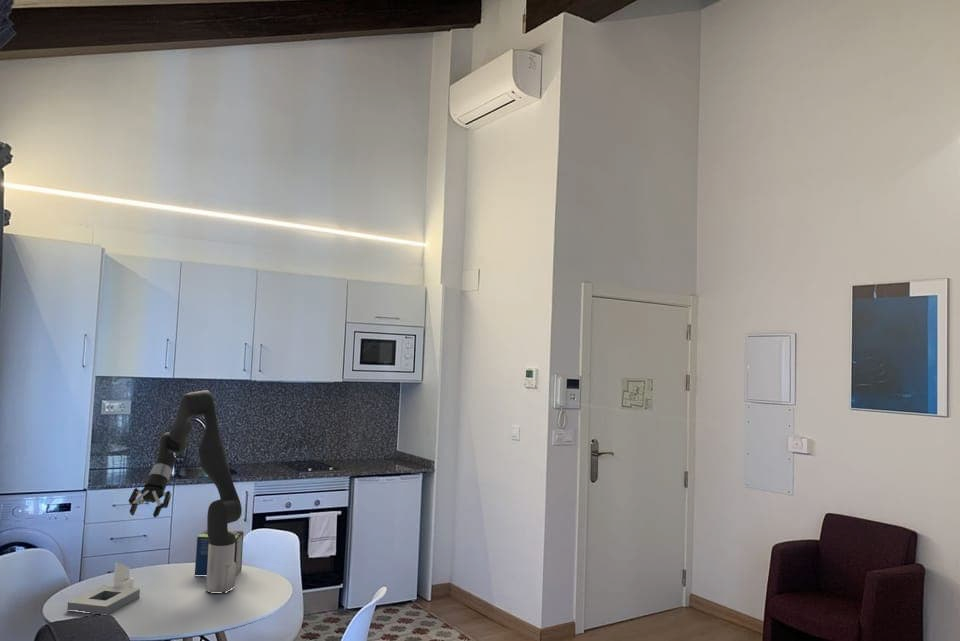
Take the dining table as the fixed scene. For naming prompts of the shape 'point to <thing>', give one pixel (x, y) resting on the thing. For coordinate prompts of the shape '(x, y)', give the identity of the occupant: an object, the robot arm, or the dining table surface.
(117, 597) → the socket plate
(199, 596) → the dining table surface
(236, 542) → the protein box
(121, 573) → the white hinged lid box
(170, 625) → the dining table surface
